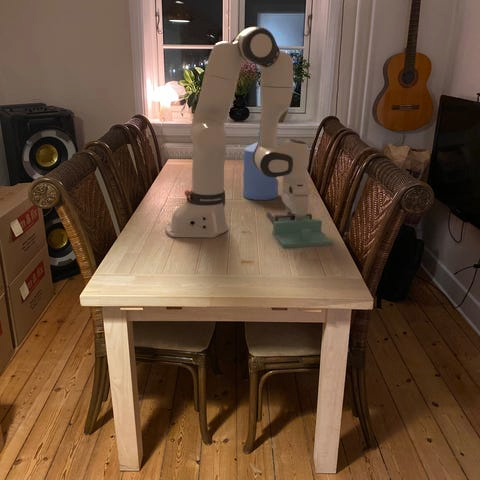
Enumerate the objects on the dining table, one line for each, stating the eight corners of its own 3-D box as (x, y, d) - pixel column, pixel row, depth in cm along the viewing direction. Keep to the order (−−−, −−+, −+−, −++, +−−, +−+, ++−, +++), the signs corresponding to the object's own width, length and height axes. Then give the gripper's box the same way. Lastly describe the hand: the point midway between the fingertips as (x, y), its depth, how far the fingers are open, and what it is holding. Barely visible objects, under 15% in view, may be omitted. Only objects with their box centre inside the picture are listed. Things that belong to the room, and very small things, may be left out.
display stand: (283, 247, 167) (283, 233, 165) (272, 233, 180) (272, 220, 178) (331, 244, 171) (332, 230, 169) (317, 231, 183) (318, 218, 181)
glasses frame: (275, 227, 186) (275, 216, 185) (266, 216, 198) (266, 206, 197) (311, 225, 189) (312, 214, 188) (300, 214, 201) (301, 204, 200)
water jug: (258, 203, 215) (260, 136, 204) (235, 194, 226) (236, 131, 216) (285, 197, 224) (288, 133, 214) (261, 189, 235) (263, 128, 225)
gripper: (278, 177, 192) (277, 212, 197) (294, 192, 173) (292, 230, 178) (294, 177, 193) (292, 211, 198) (312, 191, 175) (309, 229, 180)
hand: (292, 220), depth 188 cm, fingers open, 8 cm apart
